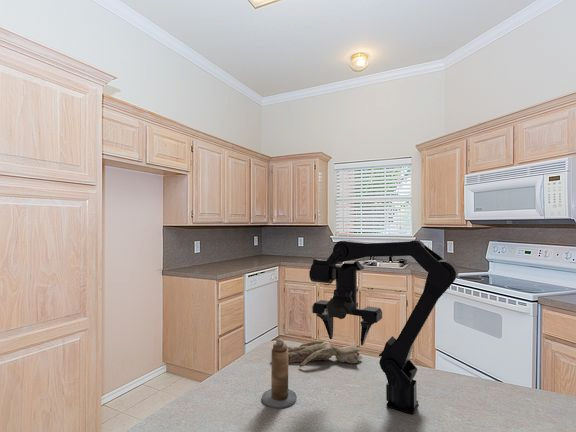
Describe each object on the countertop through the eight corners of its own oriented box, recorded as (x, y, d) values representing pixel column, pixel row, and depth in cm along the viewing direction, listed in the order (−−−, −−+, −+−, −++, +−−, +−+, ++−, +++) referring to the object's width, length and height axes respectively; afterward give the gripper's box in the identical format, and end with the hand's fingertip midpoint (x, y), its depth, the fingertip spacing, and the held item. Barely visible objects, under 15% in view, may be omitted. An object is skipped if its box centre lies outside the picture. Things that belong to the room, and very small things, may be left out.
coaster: (302, 395, 87) (302, 393, 87) (284, 412, 80) (284, 409, 80) (274, 387, 92) (274, 384, 92) (255, 401, 85) (255, 399, 85)
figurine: (271, 375, 104) (366, 370, 102) (269, 354, 105) (364, 349, 103) (277, 355, 121) (359, 351, 119) (275, 338, 121) (357, 333, 119)
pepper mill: (290, 393, 87) (290, 336, 88) (285, 401, 83) (285, 342, 84) (274, 391, 89) (274, 335, 89) (269, 399, 84) (269, 340, 85)
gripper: (302, 286, 90) (302, 344, 89) (369, 294, 80) (369, 359, 80) (321, 280, 99) (320, 333, 99) (382, 287, 89) (383, 345, 89)
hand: (346, 341), depth 91 cm, fingers open, 9 cm apart
